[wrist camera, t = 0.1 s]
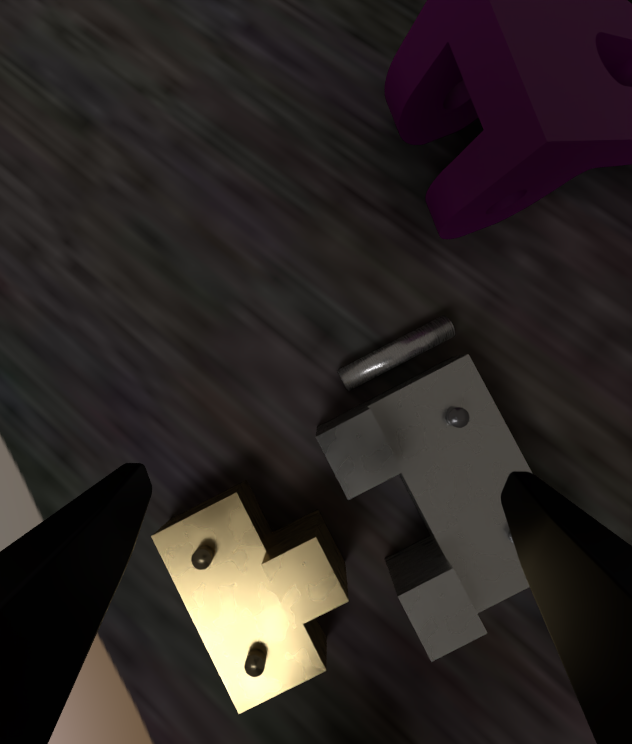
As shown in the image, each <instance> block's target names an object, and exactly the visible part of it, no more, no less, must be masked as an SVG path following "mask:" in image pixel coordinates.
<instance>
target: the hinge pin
mask: <svg viewBox="0 0 632 744" xmlns="http://www.w3.org/2000/svg"><path fill="white" fill-rule="evenodd" d="M454 336H455V328H454V326H453V324H452V322H451V321H450V319H449V318H448V317H446V316H444V315H443V316H441V317H439V318H437V319H435V320H433V321H431V322H429V323H427V324H425V325H424V326H422V327H420V328H418V329H416V330H414V331H412V332H410V333H408V334H406V335H404V336H402V337H400V338H398V339H397V340H395V341H393V342H391V343H389V344H387V345H385V346H383V347H381V348H379V349H377V350H375V351H373V352H371V353H370V354H368V355H366V356H364V357H362V358H360V359H358V360H356V361H354V362H352V363H350V364H348V365H346V366H344V367H343V368H341V369H339V370H337V372H338V374H339V376H340V378H341V380H342V382H343V384H344V386H345V388H346V390H347V391H350V390H352V389H354V388H356V387H358V386H360V385H361V384H363V383H365V382H367V381H369V380H371V379H373V378H375V377H377V376H379V375H381V374H383V373H385V372H387V371H388V370H390V369H392V368H394V367H396V366H398V365H400V364H402V363H404V362H406V361H408V360H410V359H412V358H414V357H415V356H417V355H419V354H421V353H423V352H425V351H427V350H429V349H431V348H433V347H435V346H437V345H439V344H441V343H442V342H444V341H446V340H448V339H450V338H452V337H454Z"/></svg>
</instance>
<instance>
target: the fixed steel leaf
mask: <svg viewBox="0 0 632 744" xmlns="http://www.w3.org/2000/svg"><path fill="white" fill-rule="evenodd" d="M316 439H317V441H318V443H319V445H320V447H321V448H322V450H323V452H324V454H325V456H326V458H327V460H328V462H329V464H330V466H331V468H332V470H333V472H334V474H335V476H336V478H337V480H338V481H339V483H340V485H341V487H342V489H343V491H344V493H345V495H346V497H347V499H348V500H350V499H352V498H353V497H355V496H357V495H359V494H361V493H363V492H365V491H367V490H369V489H371V488H373V487H375V486H377V485H379V484H381V483H383V482H384V481H386V480H388V479H390V478H392V477H394V476H396V475H398V474H399V476H400V477H401V479H402V481H403V483H404V485H405V487H406V489H407V491H408V493H409V495H410V497H411V499H412V500H413V502H414V504H415V506H416V508H417V510H418V512H419V514H420V516H421V518H422V520H423V522H424V523H425V525H426V527H427V529H428V531H429V533H430V536H428V537H426V538H424V539H422V540H420V541H419V542H417V543H415V544H413V545H411V546H409V547H407V548H405V549H403V550H401V551H399V552H397V553H395V554H393V555H391V556H389V557H387V558H385V561H386V564H387V567H388V570H389V573H390V575H391V578H392V581H393V584H394V587H395V590H396V593H397V596H398V598H399V600H400V602H401V604H402V606H403V608H404V610H405V612H406V613H407V615H408V617H409V619H410V621H411V623H412V625H413V627H414V629H415V631H416V633H417V635H418V637H419V639H420V641H421V643H422V645H423V646H424V648H425V650H426V652H427V654H428V656H429V658H430V660H431V662H432V661H434V660H436V659H438V658H440V657H442V656H444V655H446V654H448V653H450V652H452V651H454V650H456V649H458V648H460V647H462V646H464V645H465V644H467V643H469V642H471V641H473V640H475V639H477V638H479V637H481V636H483V635H485V634H487V631H486V629H485V627H484V626H483V624H482V622H481V620H480V618H479V616H478V614H477V613H479V612H481V611H483V610H485V609H487V608H489V607H491V606H493V605H495V604H497V603H499V602H501V601H503V600H505V599H507V598H509V597H511V596H513V595H515V594H516V593H518V592H520V591H522V590H524V589H526V588H528V587H530V586H529V584H528V581H527V579H526V577H525V574H524V572H523V569H522V567H521V564H520V561H519V558H518V555H517V552H516V549H515V545H514V542H513V539H512V536H511V533H510V529H509V526H508V523H507V520H506V517H505V514H504V510H503V507H502V504H501V492H502V490H503V487H504V485H505V483H506V480H507V478H508V476H509V474H510V473H511V472H513V471H527V472H530V473H532V472H531V470H530V468H529V466H528V464H527V462H526V460H525V459H524V457H523V455H522V453H521V451H520V449H519V447H518V445H517V444H516V442H515V440H514V438H513V436H512V434H511V432H510V431H509V429H508V427H507V425H506V423H505V421H504V419H503V417H502V416H501V414H500V412H499V410H498V408H497V406H496V404H495V403H494V401H493V399H492V397H491V395H490V393H489V391H488V389H487V388H486V386H485V384H484V382H483V380H482V378H481V376H480V375H479V373H478V371H477V369H476V367H475V365H474V363H473V361H472V360H471V358H470V356H469V354H466V355H461V356H455V357H452V358H450V359H448V360H446V361H444V362H442V363H440V364H438V365H436V366H434V367H432V368H430V369H429V370H427V371H425V372H423V373H421V374H419V375H417V376H415V377H413V378H411V379H409V380H407V381H405V382H403V383H401V384H400V385H398V386H396V387H394V388H392V389H390V390H388V391H386V392H384V393H382V394H380V395H378V396H376V397H374V398H372V399H371V400H369V401H367V402H365V403H363V404H361V405H359V406H357V407H355V408H353V409H351V410H349V411H347V412H345V413H344V414H342V415H340V416H338V417H336V418H334V419H332V420H330V421H328V422H326V423H324V424H322V425H320V426H318V427H317V430H316ZM532 474H533V473H532Z"/></svg>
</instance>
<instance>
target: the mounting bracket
mask: <svg viewBox="0 0 632 744" xmlns="http://www.w3.org/2000/svg"><path fill="white" fill-rule="evenodd" d="M385 98H386V101H387V104H388V106H389V109H390V112H391V114H392V117H393V119H394V122H395V124H396V127H397V129H398V132H399V134H400V137H401V138H402V139H403V141H405V142H406V143H408V144H412V145H423V144H426V143H429V142H431V141H434V140H436V139H439V138H442V137H444V136H447V135H450V134H452V133H455V132H457V131H459V130H461V129H463V128H464V127H466V126H467V125H469V124H470V123H472V122H473V121H475V120H476V119H477V118H479V120H480V122H481V125H482V127H483V129H484V130H483V131H482V132H481V133H480V134H479V135H478V136H477V137H476V138H475V139H474V140H473V141H472V142H471V143H470V144H469V145H468V146H467V147H466V148H465V149H464V150H463V151H462V152H461V153H460V154H459V155H458V156H457V157H456V158H455V159H454V160H453V161H452V162H451V163H450V164H449V165H448V166H447V167H446V168H445V169H444V170H443V171H442V172H441V173H440V174H439V175H438V176H437V177H436V179H435V180H434V181H433V182H432V184H431V185H430V187H429V189H428V191H427V193H426V197H425V200H426V203H427V206H428V208H429V211H430V213H431V216H432V218H433V221H434V223H435V226H436V229H437V231H438V234H439V236H440V237H441V238H442V239H453V238H458V237H461V236H464V235H467V234H469V233H472V232H475V231H477V230H480V229H483V228H485V227H488V226H491V225H493V224H496V223H498V222H500V221H502V220H504V219H506V218H508V217H510V216H512V215H514V214H515V213H517V212H519V211H521V210H523V209H525V208H526V207H528V206H530V205H531V204H533V203H535V202H536V201H538V200H540V199H541V198H543V197H544V196H546V195H547V194H549V193H550V192H552V191H554V190H555V189H557V188H558V187H560V186H561V185H563V184H564V183H566V182H567V181H569V180H571V179H572V178H574V177H575V176H577V175H579V174H581V173H583V172H585V171H587V170H589V169H592V168H599V167H610V166H620V165H630V164H632V4H631V3H630V2H629V1H627V0H427V2H426V3H425V5H424V7H423V8H422V10H421V12H420V14H419V15H418V17H417V19H416V20H415V22H414V24H413V25H412V27H411V29H410V31H409V32H408V34H407V36H406V37H405V39H404V41H403V43H402V44H401V46H400V48H399V49H398V51H397V53H396V55H395V57H394V59H393V61H392V63H391V65H390V68H389V71H388V74H387V77H386V82H385Z"/></svg>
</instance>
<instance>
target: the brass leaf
mask: <svg viewBox="0 0 632 744" xmlns="http://www.w3.org/2000/svg"><path fill="white" fill-rule="evenodd" d="M151 537H152V539H153V541H154V543H155V545H156V547H157V549H158V551H159V553H160V555H161V557H162V559H163V561H164V563H165V565H166V567H167V569H168V571H169V573H170V575H171V577H172V579H173V581H174V583H175V585H176V587H177V589H178V591H179V594H180V596H181V598H182V600H183V602H184V604H185V606H186V608H187V610H188V612H189V614H190V616H191V618H192V620H193V622H194V624H195V626H196V628H197V630H198V632H199V634H200V636H201V638H202V640H203V642H204V644H205V646H206V648H207V650H208V652H209V654H210V656H211V658H212V660H213V662H214V664H215V666H216V669H217V671H218V673H219V675H220V677H221V679H222V681H223V683H224V685H225V687H226V689H227V691H228V693H229V695H230V697H231V699H232V701H233V703H234V705H235V707H236V709H237V711H238V713H239V714H240V713H242V712H244V711H246V710H248V709H250V708H252V707H254V706H256V705H258V704H260V703H262V702H264V701H266V700H268V699H270V698H272V697H274V696H276V695H278V694H280V693H282V692H284V691H286V690H288V689H290V688H292V687H294V686H297V685H299V684H301V683H303V682H305V681H307V680H309V679H311V678H313V677H315V676H317V675H319V674H321V673H323V672H325V671H326V655H327V639H326V637H325V635H324V633H323V631H322V629H321V627H320V625H319V623H318V621H317V619H316V617H318V616H320V615H322V614H324V613H326V612H328V611H330V610H332V609H334V608H336V607H338V606H340V605H342V604H344V603H346V602H348V601H349V599H348V588H347V577H346V566H345V561H344V559H343V557H342V555H341V553H340V551H339V549H338V547H337V545H336V543H335V541H334V540H333V538H332V536H331V534H330V532H329V530H328V528H327V526H326V524H325V522H324V520H323V518H322V516H321V514H320V512H319V510H316V511H314V512H312V513H310V514H308V515H306V516H304V517H302V518H300V519H298V520H296V521H294V522H292V523H290V524H288V525H286V526H284V527H282V528H281V529H279V530H277V531H275V532H272V530H271V528H270V526H269V524H268V522H267V520H266V518H265V516H264V514H263V512H262V510H261V508H260V506H259V504H258V502H257V500H256V498H255V496H254V494H253V492H252V490H251V488H250V486H249V484H248V482H247V480H246V481H244V482H242V483H240V484H238V485H236V486H234V487H232V488H230V489H228V490H226V491H224V492H222V493H220V494H219V495H217V496H215V497H213V498H211V499H209V500H207V501H205V502H203V503H201V504H199V505H197V506H195V507H193V508H191V509H190V510H188V511H186V512H184V513H182V514H180V515H178V516H176V517H174V518H172V519H170V520H169V521H168V522H166V523H165V524H164V525H163V526H162V527H161V528H160V529H159V530H158V531H156V532H155V533H154V534H153V535H152V536H151Z"/></svg>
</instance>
